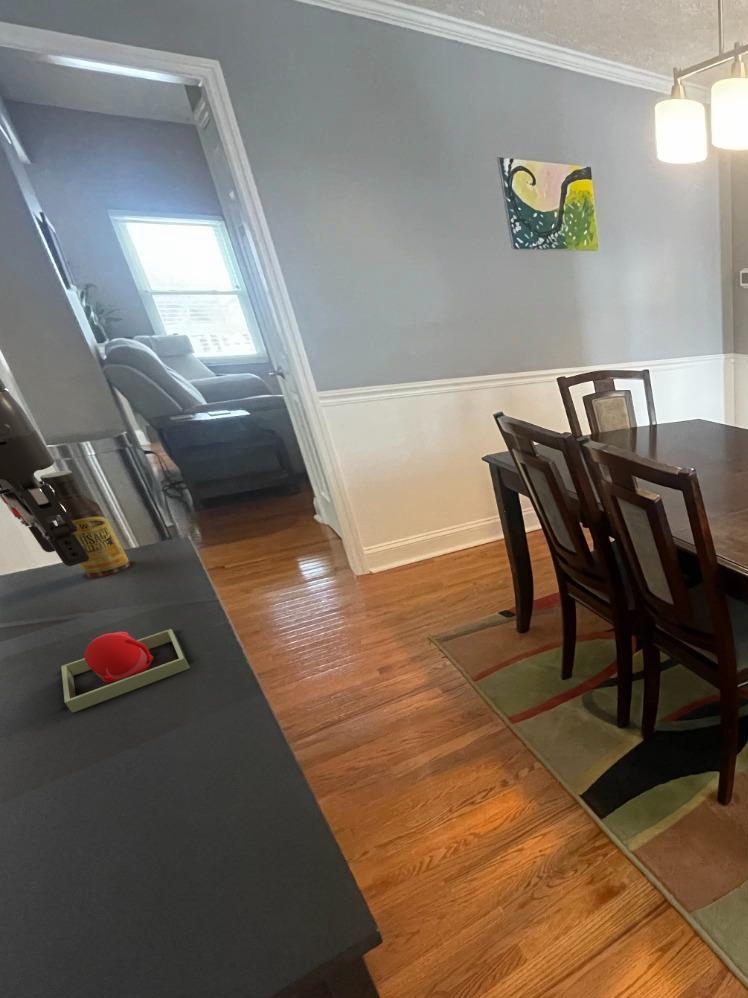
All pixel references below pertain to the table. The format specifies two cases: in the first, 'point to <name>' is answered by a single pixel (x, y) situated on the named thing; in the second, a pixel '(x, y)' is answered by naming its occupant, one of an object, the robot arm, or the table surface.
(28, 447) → the robot arm
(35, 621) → the table surface
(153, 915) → the table surface
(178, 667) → the frame
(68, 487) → the sauce bottle
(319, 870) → the table surface
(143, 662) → the cap
